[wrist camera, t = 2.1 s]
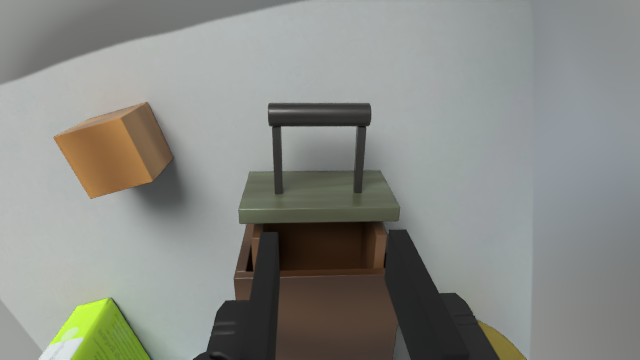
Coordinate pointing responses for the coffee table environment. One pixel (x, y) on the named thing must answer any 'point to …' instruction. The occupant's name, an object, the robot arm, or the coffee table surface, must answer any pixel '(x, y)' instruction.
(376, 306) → the cabinet
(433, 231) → the coffee table surface
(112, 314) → the box
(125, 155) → the block
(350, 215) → the drawer
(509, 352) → the flower pot
